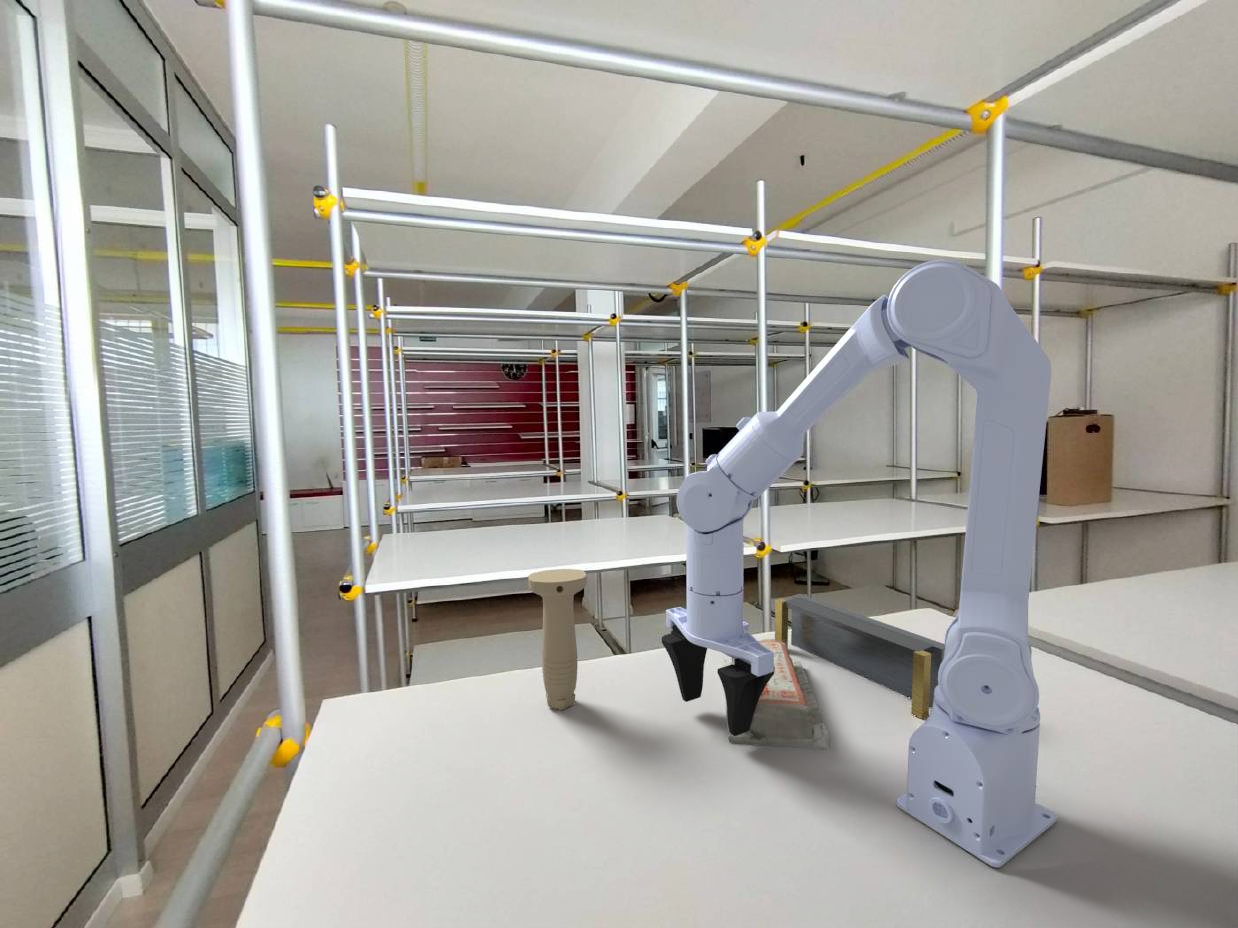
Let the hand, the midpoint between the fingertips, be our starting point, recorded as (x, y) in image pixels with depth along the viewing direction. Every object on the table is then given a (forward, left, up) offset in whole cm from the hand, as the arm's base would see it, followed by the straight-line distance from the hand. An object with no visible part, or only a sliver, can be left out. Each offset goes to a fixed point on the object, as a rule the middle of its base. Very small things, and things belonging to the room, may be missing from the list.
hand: (714, 714), depth 59 cm
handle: (-12, +13, -2) cm, 17 cm away
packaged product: (+9, +1, -2) cm, 9 cm away
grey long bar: (+22, 0, -1) cm, 22 cm away
